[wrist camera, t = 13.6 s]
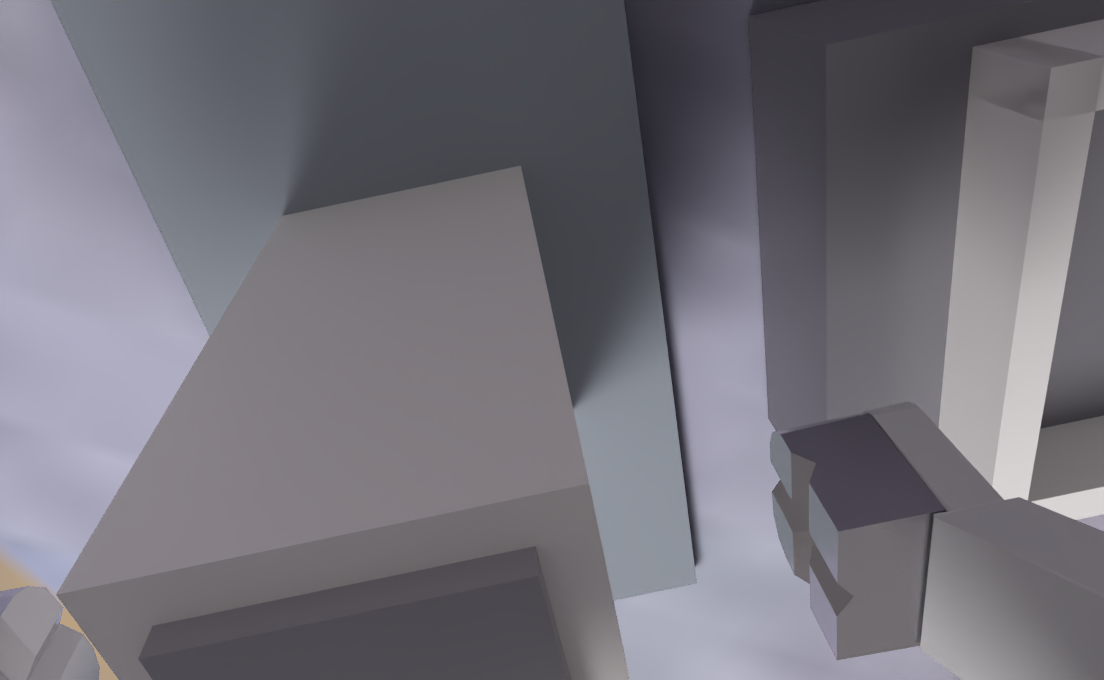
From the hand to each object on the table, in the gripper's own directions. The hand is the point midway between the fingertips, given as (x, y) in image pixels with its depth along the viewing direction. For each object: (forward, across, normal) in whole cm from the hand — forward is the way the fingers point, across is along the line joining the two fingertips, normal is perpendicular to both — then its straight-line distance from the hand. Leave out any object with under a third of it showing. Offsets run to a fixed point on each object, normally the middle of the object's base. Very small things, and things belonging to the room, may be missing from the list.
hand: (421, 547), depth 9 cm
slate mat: (+6, 0, 0) cm, 6 cm away
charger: (+6, 0, 0) cm, 6 cm away
